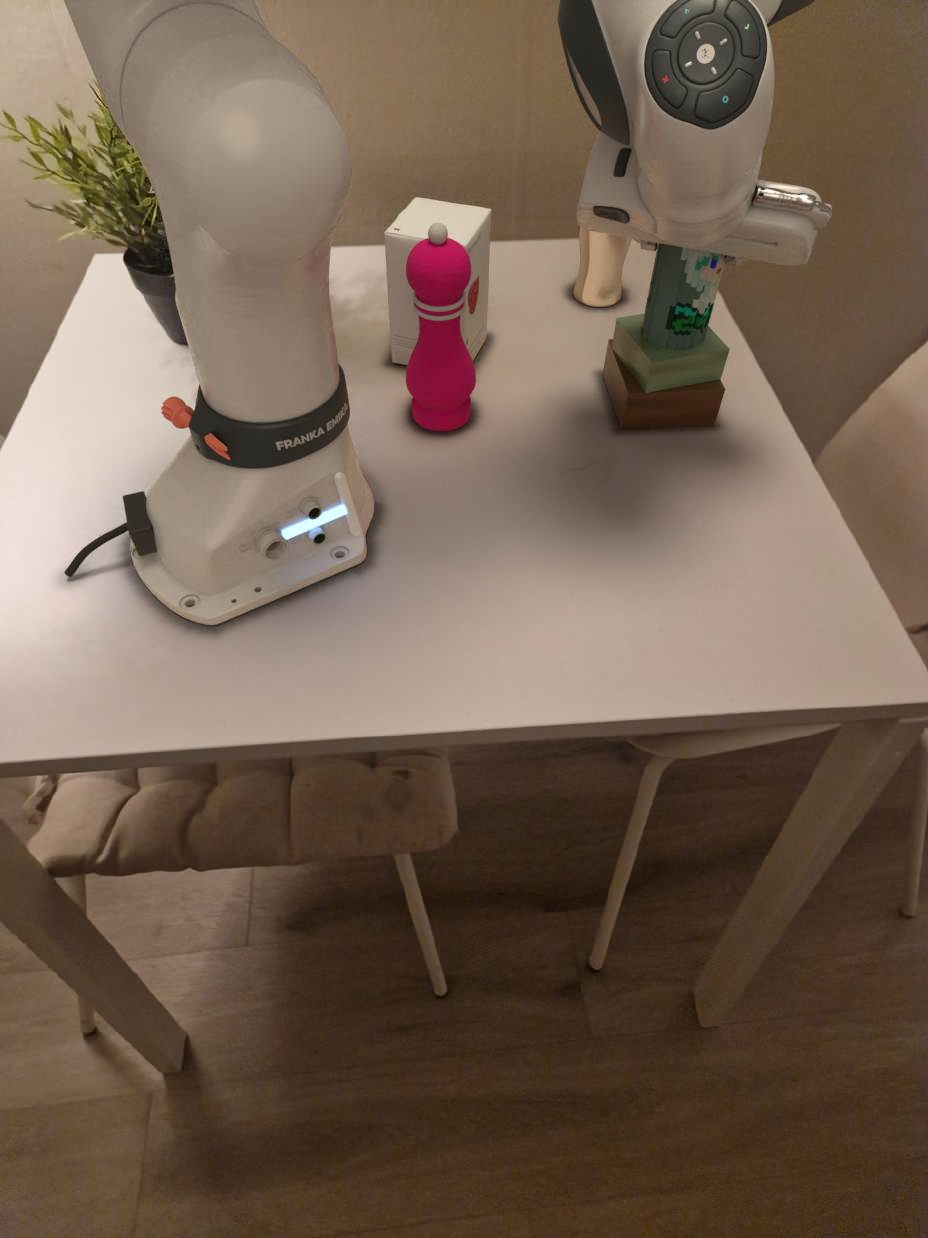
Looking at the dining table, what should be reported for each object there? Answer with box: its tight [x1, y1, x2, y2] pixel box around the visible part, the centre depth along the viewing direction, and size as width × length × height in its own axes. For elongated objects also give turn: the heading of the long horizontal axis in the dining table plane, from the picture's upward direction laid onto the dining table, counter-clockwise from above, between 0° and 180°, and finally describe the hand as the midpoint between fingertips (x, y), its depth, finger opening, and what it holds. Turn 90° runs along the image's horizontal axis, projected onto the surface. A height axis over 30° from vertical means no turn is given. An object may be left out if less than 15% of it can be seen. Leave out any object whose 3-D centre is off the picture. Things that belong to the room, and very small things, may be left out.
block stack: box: [602, 313, 731, 431], centre depth 84 cm, size 10×10×8 cm
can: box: [641, 243, 727, 351], centre depth 75 cm, size 6×6×15 cm
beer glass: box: [572, 164, 633, 308], centre depth 95 cm, size 7×7×15 cm
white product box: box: [383, 196, 492, 366], centre depth 87 cm, size 9×9×15 cm
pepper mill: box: [405, 222, 477, 432], centre depth 77 cm, size 7×7×20 cm
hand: (692, 249), depth 74 cm, fingers open, 6 cm apart
